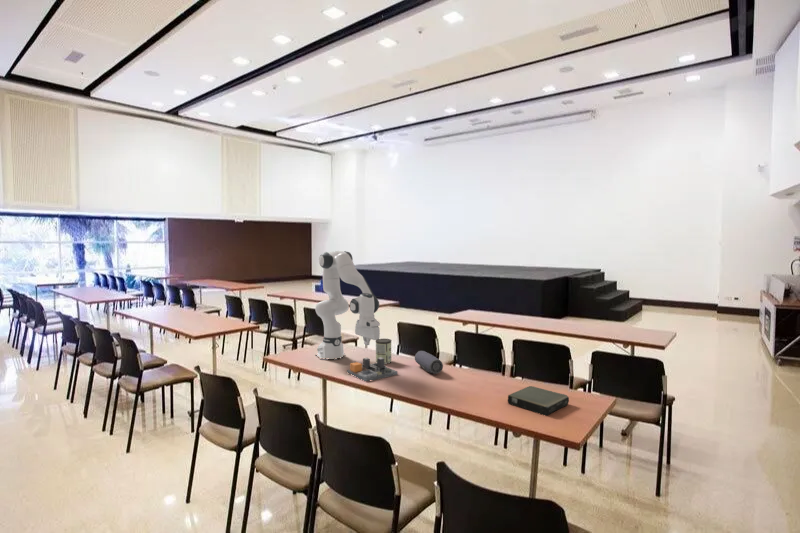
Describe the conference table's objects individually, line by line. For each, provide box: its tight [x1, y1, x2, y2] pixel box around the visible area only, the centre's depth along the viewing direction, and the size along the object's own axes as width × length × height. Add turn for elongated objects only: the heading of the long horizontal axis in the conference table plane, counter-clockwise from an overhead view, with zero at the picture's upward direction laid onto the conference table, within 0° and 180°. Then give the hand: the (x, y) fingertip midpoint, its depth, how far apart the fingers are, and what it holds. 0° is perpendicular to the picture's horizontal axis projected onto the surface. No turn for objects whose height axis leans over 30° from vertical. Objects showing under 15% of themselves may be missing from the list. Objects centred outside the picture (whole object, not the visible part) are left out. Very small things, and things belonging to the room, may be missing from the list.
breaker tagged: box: [362, 357, 371, 369], centre depth 268 cm, size 3×3×6 cm
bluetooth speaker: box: [414, 350, 444, 375], centre depth 271 cm, size 23×9×10 cm, turn 22°
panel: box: [346, 362, 398, 382], centre depth 264 cm, size 20×22×3 cm
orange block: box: [349, 361, 363, 372], centre depth 264 cm, size 5×5×4 cm
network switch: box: [507, 385, 570, 417], centre depth 217 cm, size 23×24×5 cm
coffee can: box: [375, 338, 392, 365], centre depth 290 cm, size 10×10×14 cm
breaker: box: [377, 357, 385, 369], centre depth 269 cm, size 3×3×6 cm
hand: (366, 344), depth 263 cm, fingers closed
